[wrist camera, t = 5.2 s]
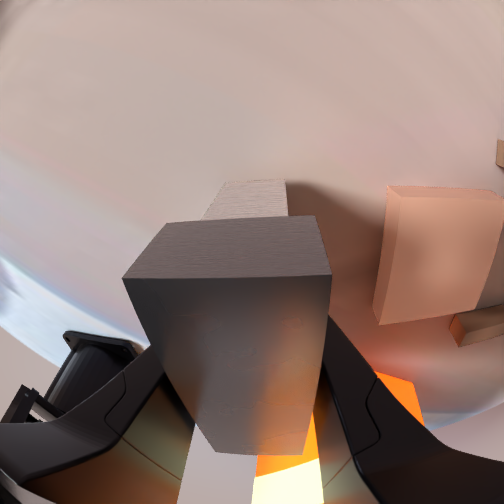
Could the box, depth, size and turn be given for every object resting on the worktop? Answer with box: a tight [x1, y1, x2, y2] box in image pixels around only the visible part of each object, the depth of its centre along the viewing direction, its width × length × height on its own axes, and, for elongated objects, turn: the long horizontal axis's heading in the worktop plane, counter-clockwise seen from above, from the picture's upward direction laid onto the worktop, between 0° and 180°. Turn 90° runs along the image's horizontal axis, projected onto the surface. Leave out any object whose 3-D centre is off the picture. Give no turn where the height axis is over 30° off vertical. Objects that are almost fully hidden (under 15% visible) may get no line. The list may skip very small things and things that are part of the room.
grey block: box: [122, 179, 332, 456], centre depth 8 cm, size 3×8×6 cm, turn 5°
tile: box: [372, 186, 504, 325], centre depth 10 cm, size 6×6×2 cm
